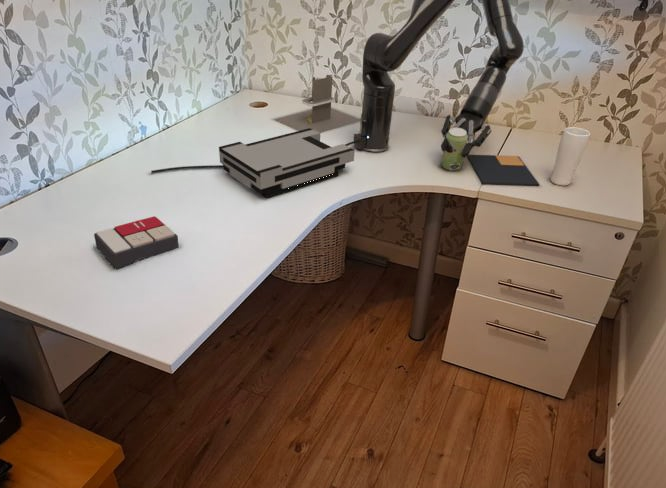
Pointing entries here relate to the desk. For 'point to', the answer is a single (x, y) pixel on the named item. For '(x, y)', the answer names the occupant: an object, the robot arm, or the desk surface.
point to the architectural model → (319, 110)
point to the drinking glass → (569, 154)
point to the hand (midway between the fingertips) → (452, 153)
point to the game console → (284, 162)
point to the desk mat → (502, 170)
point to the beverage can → (454, 149)
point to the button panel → (135, 241)
